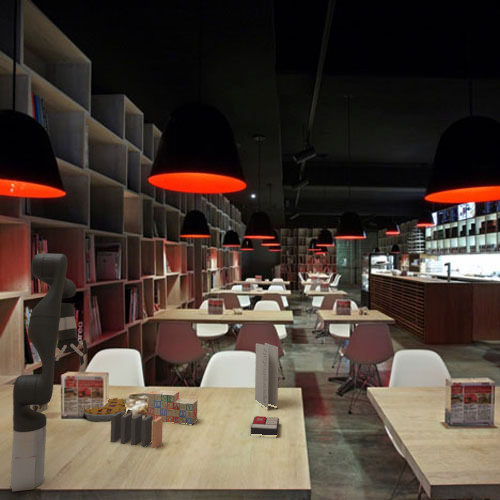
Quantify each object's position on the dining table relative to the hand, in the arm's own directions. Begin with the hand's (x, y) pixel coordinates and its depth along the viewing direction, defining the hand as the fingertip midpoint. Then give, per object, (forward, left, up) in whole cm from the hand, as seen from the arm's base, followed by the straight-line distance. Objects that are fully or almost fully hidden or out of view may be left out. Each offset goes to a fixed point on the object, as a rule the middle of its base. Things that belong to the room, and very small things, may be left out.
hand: (70, 367), depth 168 cm
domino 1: (-13, -20, -26) cm, 35 cm away
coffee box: (+29, +19, -26) cm, 44 cm away
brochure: (+15, -90, -26) cm, 95 cm away
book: (-15, -81, -27) cm, 86 cm away
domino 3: (-17, -28, -26) cm, 42 cm away
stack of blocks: (+4, -43, -26) cm, 50 cm away
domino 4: (-19, -32, -26) cm, 45 cm away
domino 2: (-15, -24, -26) cm, 38 cm away
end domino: (-22, -35, -26) cm, 49 cm away
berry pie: (+19, -14, -27) cm, 35 cm away
